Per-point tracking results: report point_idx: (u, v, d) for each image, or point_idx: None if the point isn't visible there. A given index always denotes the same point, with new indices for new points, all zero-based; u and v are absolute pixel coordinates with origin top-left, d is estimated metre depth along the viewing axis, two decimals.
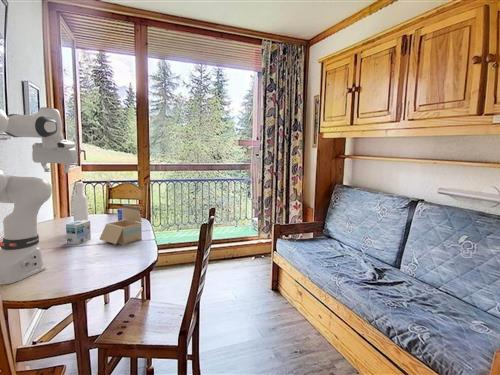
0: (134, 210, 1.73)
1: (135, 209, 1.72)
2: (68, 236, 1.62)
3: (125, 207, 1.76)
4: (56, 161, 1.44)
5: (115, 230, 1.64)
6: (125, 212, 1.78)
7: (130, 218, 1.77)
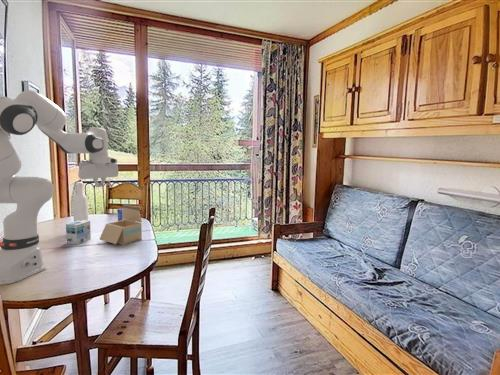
0: (134, 210, 1.73)
1: (135, 209, 1.72)
2: (68, 236, 1.62)
3: (125, 207, 1.76)
4: (104, 175, 1.58)
5: (115, 230, 1.64)
6: (125, 212, 1.78)
7: (130, 218, 1.77)
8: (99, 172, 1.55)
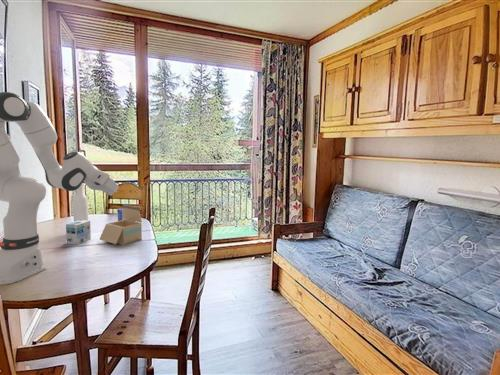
0: (134, 210, 1.73)
1: (135, 209, 1.72)
2: (68, 236, 1.62)
3: (125, 207, 1.76)
4: (104, 190, 1.57)
5: (115, 230, 1.64)
6: (125, 212, 1.78)
7: (130, 218, 1.77)
8: (98, 187, 1.57)
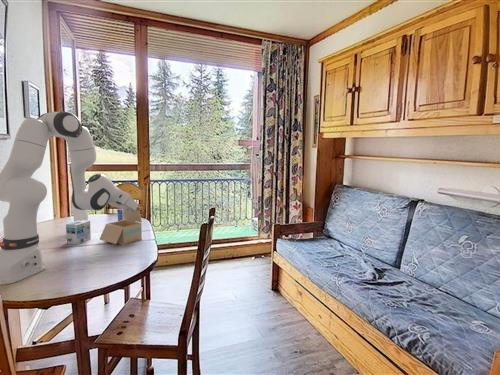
0: (135, 210, 1.73)
1: None
2: (68, 236, 1.62)
3: None
4: (124, 208, 1.69)
5: (115, 230, 1.64)
6: (125, 212, 1.78)
7: (130, 218, 1.77)
8: (118, 205, 1.69)
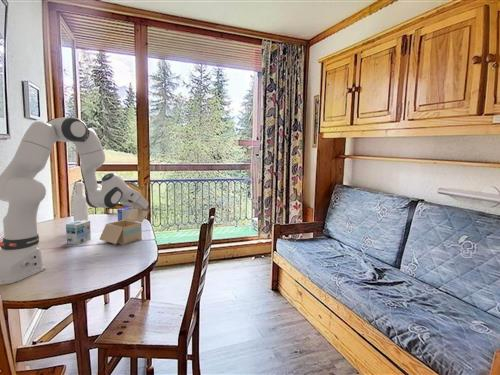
0: (143, 211, 1.78)
1: (144, 210, 1.79)
2: (68, 236, 1.62)
3: (135, 208, 1.83)
4: (135, 206, 1.75)
5: (115, 230, 1.64)
6: (131, 212, 1.81)
7: (132, 218, 1.78)
8: (129, 203, 1.75)
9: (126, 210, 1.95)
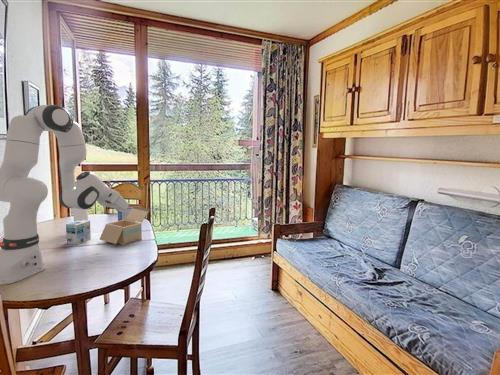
0: (143, 211, 1.78)
1: (144, 210, 1.79)
2: (68, 236, 1.62)
3: (135, 208, 1.83)
4: (114, 207, 1.63)
5: (115, 230, 1.64)
6: (131, 212, 1.81)
7: (132, 218, 1.78)
8: (108, 205, 1.63)
9: (126, 210, 1.95)
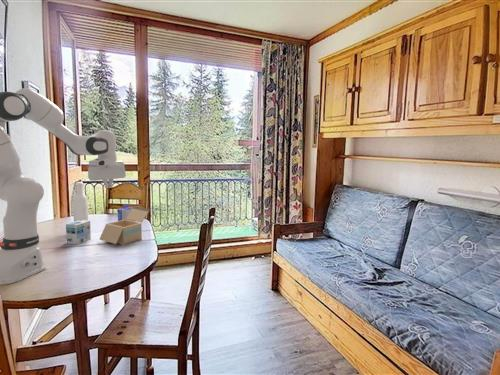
0: (143, 211, 1.78)
1: (144, 210, 1.79)
2: (68, 236, 1.62)
3: (135, 208, 1.83)
4: None
5: (115, 230, 1.64)
6: (131, 212, 1.81)
7: (132, 218, 1.78)
8: None
9: (126, 210, 1.95)
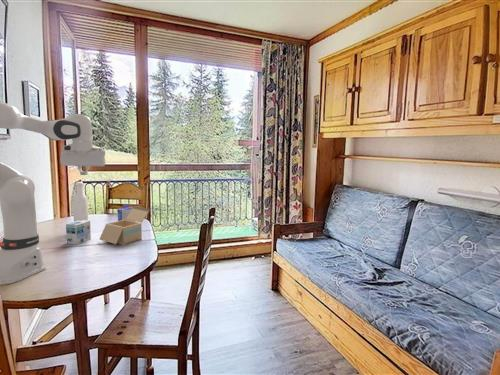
0: (143, 211, 1.78)
1: (144, 210, 1.79)
2: (68, 236, 1.62)
3: (135, 208, 1.83)
4: None
5: (115, 230, 1.64)
6: (131, 212, 1.81)
7: (132, 218, 1.78)
8: None
9: (126, 210, 1.95)
